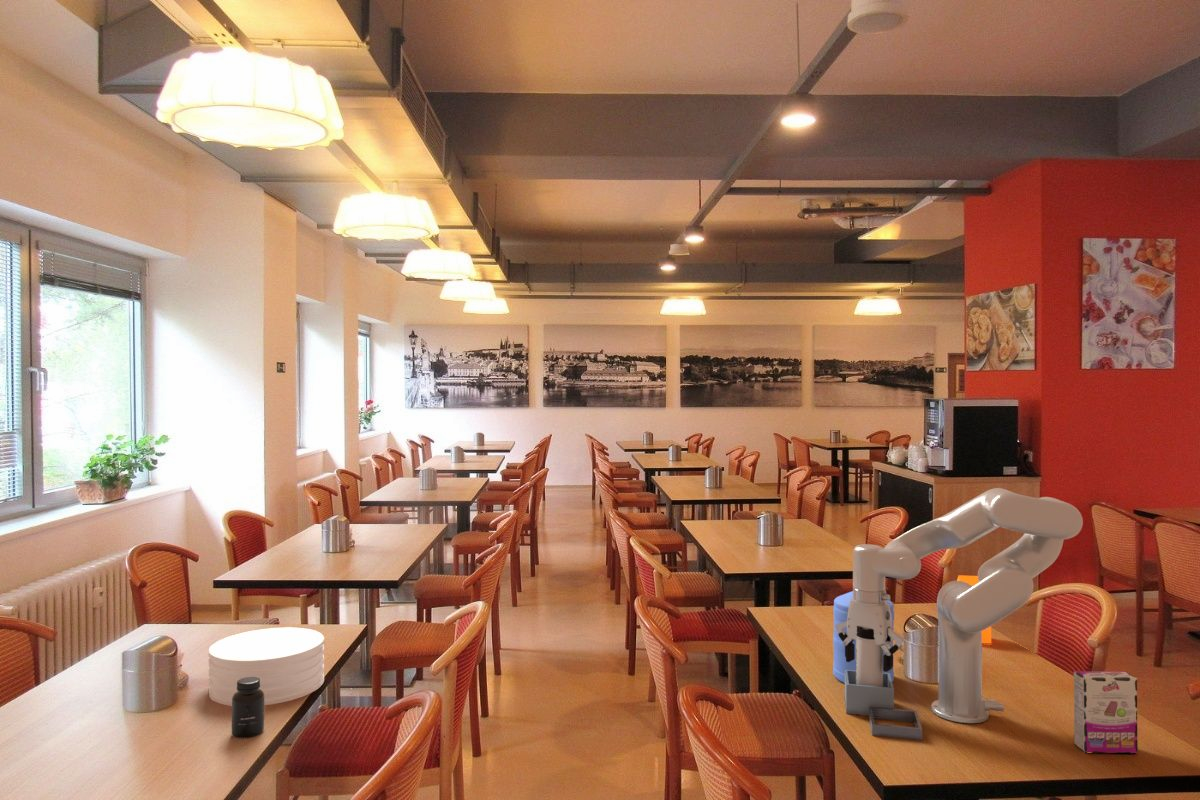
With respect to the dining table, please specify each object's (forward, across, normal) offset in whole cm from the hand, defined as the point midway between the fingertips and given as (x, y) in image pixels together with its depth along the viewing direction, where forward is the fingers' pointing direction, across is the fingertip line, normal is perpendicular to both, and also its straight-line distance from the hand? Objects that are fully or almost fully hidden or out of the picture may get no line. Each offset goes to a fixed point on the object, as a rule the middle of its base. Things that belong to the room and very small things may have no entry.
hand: (868, 665), depth 199 cm
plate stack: (+11, +119, +97) cm, 154 cm away
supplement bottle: (+10, +93, +113) cm, 147 cm away
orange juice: (+10, +2, -73) cm, 74 cm away
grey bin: (+10, 0, 0) cm, 10 cm away
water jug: (+10, +10, -18) cm, 23 cm away
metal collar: (+10, -10, +8) cm, 16 cm away
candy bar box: (+10, -47, -14) cm, 50 cm away
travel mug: (+10, 0, 0) cm, 10 cm away
